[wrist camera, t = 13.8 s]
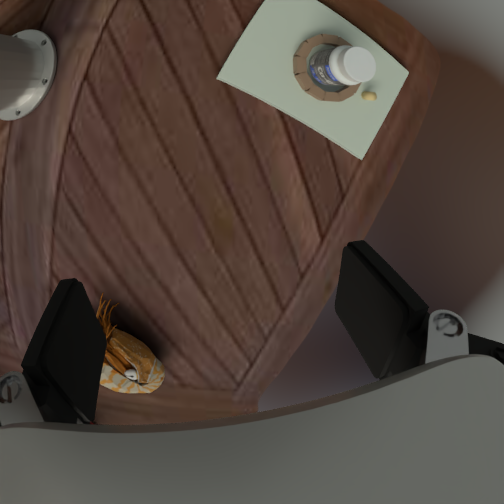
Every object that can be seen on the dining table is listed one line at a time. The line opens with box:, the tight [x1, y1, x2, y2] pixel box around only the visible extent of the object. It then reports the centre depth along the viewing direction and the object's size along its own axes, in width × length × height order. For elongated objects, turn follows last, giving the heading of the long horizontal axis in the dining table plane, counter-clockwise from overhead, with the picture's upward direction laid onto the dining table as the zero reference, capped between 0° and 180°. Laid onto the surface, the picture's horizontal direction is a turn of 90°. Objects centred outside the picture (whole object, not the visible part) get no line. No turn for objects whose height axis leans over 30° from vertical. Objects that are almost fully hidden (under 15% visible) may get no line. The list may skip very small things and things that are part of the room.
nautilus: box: [96, 292, 165, 393], centre depth 43 cm, size 8×22×15 cm
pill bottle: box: [309, 45, 376, 85], centre depth 27 cm, size 5×5×8 cm
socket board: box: [216, 0, 409, 160], centre depth 30 cm, size 22×16×3 cm
